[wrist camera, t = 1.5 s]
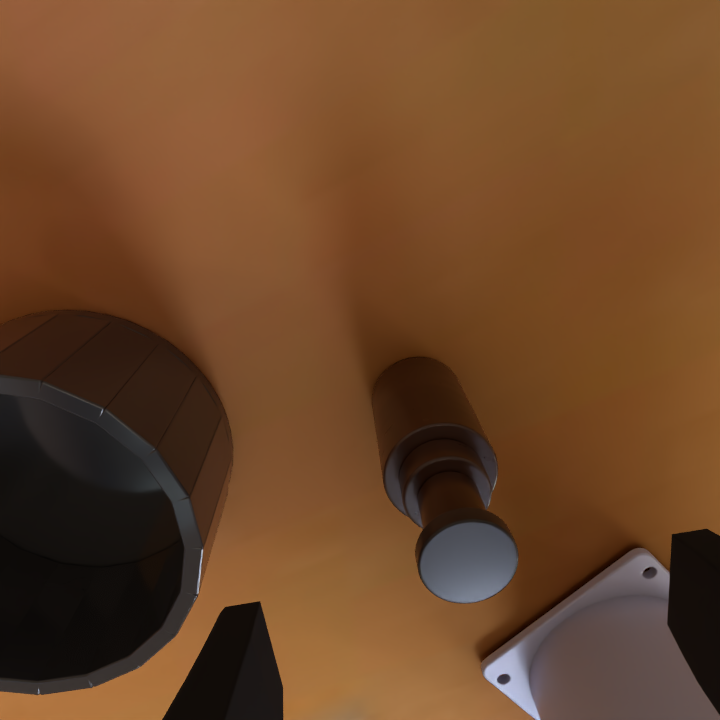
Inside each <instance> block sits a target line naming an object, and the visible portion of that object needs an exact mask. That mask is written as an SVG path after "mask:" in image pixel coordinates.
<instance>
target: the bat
mask: <svg viewBox="0 0 720 720" xmlns="http://www.w3.org/2000/svg"><path fill="white" fill-rule="evenodd" d="M372 407H373V414H374V421H375V428H376V435H377V442H378V449H379V456H380V463H381V470H382V476H383V483H384V488H385V491H386V494H387V496H388V498H389V499H390V501H391V502H392V504H393V505H394V506H395V507H396V508H397V509H398V510H399V511H400V512H402V513H403V514H404V515H406V516H408V517H409V518H410V519H411V520H412V521H413V522H414V523H415V524H417V525H418V526H419V527H421V528H423V531H422V532H421V534H420V536H419V538H418V540H417V544H416V549H415V557H416V562H417V567H418V572H419V576H420V578H421V580H422V582H423V584H424V585H425V586H426V588H427V589H428V590H429V591H430V592H432V593H433V594H434V595H436V596H437V597H439V598H441V599H443V600H446V601H449V602H454V603H474V602H479V601H482V600H485V599H488V598H490V597H492V596H494V595H496V594H497V593H499V592H500V591H501V590H502V589H504V588H505V587H506V586H507V584H508V583H509V582H510V581H511V579H512V578H513V576H514V574H515V572H516V569H517V565H518V556H519V555H518V549H517V545H516V543H515V541H514V538H513V536H512V534H511V532H510V529H509V528H508V526H507V525H506V524H505V522H504V521H503V520H502V519H500V518H499V517H498V516H496V515H495V514H493V513H491V512H489V511H487V508H488V506H489V503H490V500H491V495H492V492H493V489H494V487H495V484H496V481H497V476H498V464H497V458H496V455H495V453H494V450H493V448H492V446H491V444H490V442H489V440H488V438H487V436H486V434H485V432H484V430H483V428H482V426H481V424H480V422H479V420H478V419H477V417H476V415H475V413H474V411H473V409H472V407H471V405H470V403H469V401H468V399H467V397H466V395H465V393H464V391H463V389H462V387H461V385H460V383H459V381H458V379H457V377H456V376H455V374H454V373H453V372H452V371H451V370H450V369H449V368H448V367H447V366H446V365H444V364H442V363H441V362H439V361H437V360H433V359H430V358H424V357H414V358H408V359H405V360H401V361H399V362H397V363H395V364H393V365H392V366H390V367H389V368H388V369H387V370H386V371H385V372H384V373H383V374H382V375H381V376H380V377H379V379H378V381H377V382H376V384H375V387H374V390H373V394H372Z"/></svg>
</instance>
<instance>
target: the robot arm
mask: <svg viewBox="0 0 720 720" xmlns="http://www.w3.org/2000/svg"><path fill="white" fill-rule="evenodd" d="M648 567H651V568H650V569H649V570H648V571H646V572H643V571H644V570H645V569H646V568H648ZM481 670H482V673H483V676H484V677H485V679H487V680H488V681H489V682H490V683H492V684H493V685H494V686H495V687H496V688H498V689H499V690H500V691H501V692H502V693H504V694H505V695H506V696H507V697H509V698H510V699H511V700H512V701H513V702H515V703H516V704H517V705H518V706H520V707H521V708H522V709H523V710H524V711H526V712H527V713H528V714H529V715H530V716H532V717H533V718H534V719H535V720H720V536H719V535H717V534H715V533H714V532H712V531H710V530H708V529H702V530H696V531H690V532H684V533H678V534H672V543H671V562H670V572H669V571H668V570H667V569H666V568H665V567H664V566H663V565H662V564H661V563H660V562H659V561H658V560H657V559H656V558H655V557H654V556H653V555H652V554H651V553H650V552H649V551H648V550H646V549H644V548H636V549H633V550H631V551H629V552H628V553H627V554H625V555H624V556H623V557H621V558H620V559H619V560H617V561H616V562H614V563H613V564H612V565H610V566H609V567H608V568H606V569H605V570H604V571H602V572H601V573H600V574H598V575H597V576H596V577H594V578H593V579H592V580H590V581H589V582H588V583H586V584H585V585H583V586H582V587H581V588H579V589H578V590H577V591H575V592H574V593H573V594H571V595H570V596H569V597H567V598H566V599H565V600H563V601H562V602H561V603H559V604H558V605H557V606H555V607H554V608H552V609H551V610H550V611H548V612H547V613H546V614H544V615H543V616H542V617H540V618H539V619H538V620H536V621H535V622H534V623H532V624H531V625H530V626H528V627H527V628H526V629H524V630H523V631H521V632H520V633H519V634H517V635H516V636H515V637H513V638H512V639H511V640H509V641H508V642H507V643H505V644H504V645H503V646H501V647H500V648H499V649H497V650H496V651H495V652H493V653H492V654H490V655H489V656H488V657H486V658H485V659H484V660H483V661H482V664H481ZM502 674H505V675H503V676H499V675H502ZM162 720H283V686H282V682H281V678H280V675H279V671H278V667H277V663H276V659H275V656H274V652H273V648H272V644H271V641H270V637H269V633H268V629H267V626H266V622H265V618H264V614H263V611H262V607H261V603H260V601H259V602H253V603H247V604H241V605H235V606H229V607H225V608H224V609H223V610H222V612H221V613H220V615H219V617H218V619H217V621H216V623H215V625H214V627H213V629H212V631H211V633H210V634H209V636H208V638H207V640H206V642H205V644H204V646H203V648H202V650H201V652H200V654H199V656H198V658H197V659H196V661H195V663H194V665H193V667H192V669H191V670H190V672H189V674H188V676H187V678H186V680H185V681H184V683H183V685H182V687H181V688H180V690H179V692H178V693H177V695H176V697H175V699H174V700H173V702H172V704H171V706H170V707H169V709H168V711H167V712H166V714H165V716H164V718H163V719H162Z"/></svg>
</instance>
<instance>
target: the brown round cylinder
mask: <svg viewBox="0 0 720 720" xmlns="http://www.w3.org/2000/svg"><path fill="white" fill-rule="evenodd" d="M232 466H233V444H232V437H231V430H230V427H229V423H228V420H227V416H226V413H225V411H224V409H223V407H222V404H221V402H220V400H219V398H218V396H217V394H216V393H215V391H214V389H213V388H212V386H211V384H210V383H209V381H208V380H207V379H206V378H205V376H204V375H203V374H202V373H201V371H200V370H199V369H198V368H197V367H196V366H195V365H194V364H193V363H192V362H191V361H190V360H189V359H188V358H187V357H186V356H185V355H184V354H183V353H182V352H181V351H179V350H178V349H177V348H175V347H174V346H173V345H172V344H170V343H169V342H168V341H166V340H165V339H163V338H161V337H160V336H158V335H156V334H154V333H153V332H151V331H149V330H147V329H145V328H143V327H141V326H138V325H136V324H134V323H132V322H129V321H126V320H123V319H120V318H117V317H113V316H110V315H106V314H100V313H95V312H90V311H77V310H58V311H45V312H40V313H35V314H29V315H25V316H23V317H20V318H17V319H14V320H11V321H8V322H6V323H4V324H2V325H0V691H2V692H13V693H24V694H34V695H39V694H41V695H44V694H51V693H58V692H65V691H72V690H79V689H86V688H92V687H93V686H94V687H96V686H98V685H100V684H103V683H105V682H107V681H109V680H112V679H114V678H116V677H119V676H121V675H123V674H126V673H128V672H130V671H133V670H135V669H137V668H139V667H140V666H142V665H143V664H144V663H146V662H147V661H148V660H149V659H150V658H151V657H152V656H154V655H155V654H156V653H157V652H158V651H159V650H160V649H162V648H163V647H164V646H165V645H166V644H167V643H169V642H170V641H171V640H172V639H173V638H174V637H175V636H176V635H177V634H178V632H179V630H180V628H181V627H182V625H183V623H184V621H185V619H186V617H187V615H188V614H189V612H190V610H191V608H192V606H193V604H194V602H195V601H196V599H197V597H198V594H199V591H200V588H201V584H202V581H203V577H204V574H205V571H206V567H207V564H208V560H209V557H210V553H211V550H212V547H213V543H214V540H215V536H216V533H217V529H218V526H219V523H220V519H221V516H222V512H223V509H224V505H225V502H226V499H227V495H228V487H229V482H230V478H231V472H232Z"/></svg>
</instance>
